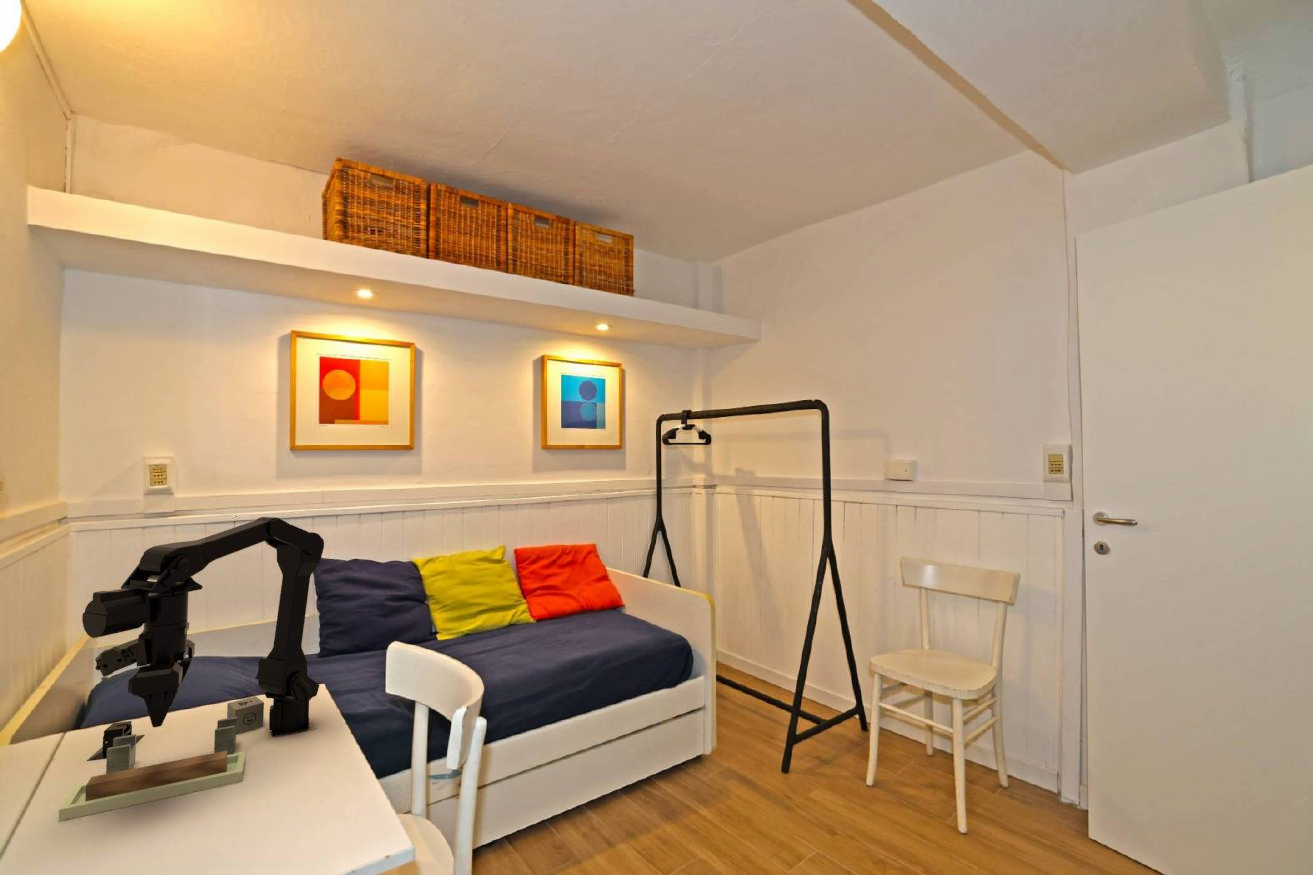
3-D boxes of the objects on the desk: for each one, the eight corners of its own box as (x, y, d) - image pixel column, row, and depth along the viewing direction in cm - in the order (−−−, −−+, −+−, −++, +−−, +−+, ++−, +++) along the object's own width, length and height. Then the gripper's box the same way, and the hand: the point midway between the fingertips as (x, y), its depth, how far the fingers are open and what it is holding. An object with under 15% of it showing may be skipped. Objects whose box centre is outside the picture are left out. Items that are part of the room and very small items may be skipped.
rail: (227, 767, 107) (227, 750, 108) (225, 775, 105) (225, 757, 105) (90, 795, 98) (91, 776, 98) (85, 804, 96) (85, 785, 96)
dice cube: (226, 728, 124) (227, 703, 124) (254, 720, 128) (255, 696, 128) (234, 735, 121) (235, 709, 121) (263, 727, 125) (263, 702, 125)
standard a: (236, 742, 118) (236, 716, 118) (233, 754, 113) (234, 726, 113) (217, 746, 116) (217, 719, 116) (213, 758, 112) (214, 730, 112)
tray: (245, 760, 111) (245, 751, 111) (242, 781, 104) (242, 771, 104) (74, 795, 99) (75, 784, 99) (58, 821, 92) (58, 809, 92)
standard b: (135, 762, 110) (136, 733, 110) (128, 775, 106) (129, 745, 106) (113, 766, 108) (114, 737, 109) (105, 779, 104) (106, 749, 104)
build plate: (125, 762, 111) (126, 736, 111) (74, 769, 108) (75, 743, 109) (153, 733, 123) (154, 710, 123) (108, 738, 120) (109, 715, 120)
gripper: (117, 614, 106) (113, 705, 106) (85, 643, 90) (81, 750, 90) (196, 607, 112) (193, 693, 112) (180, 633, 96) (176, 734, 95)
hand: (162, 715), depth 102 cm, fingers open, 9 cm apart
